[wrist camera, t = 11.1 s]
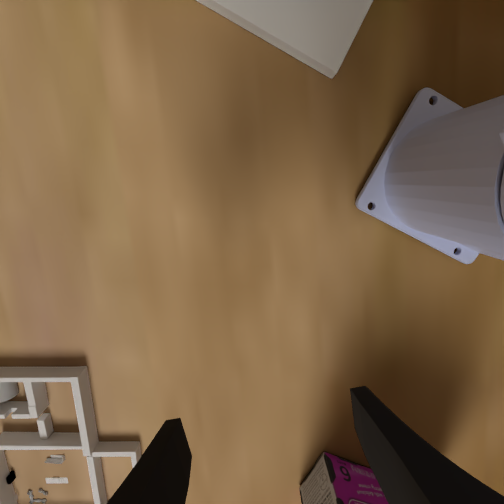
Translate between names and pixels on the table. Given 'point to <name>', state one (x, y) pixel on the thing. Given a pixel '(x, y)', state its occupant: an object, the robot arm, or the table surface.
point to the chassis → (300, 26)
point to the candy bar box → (340, 483)
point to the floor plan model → (5, 388)
